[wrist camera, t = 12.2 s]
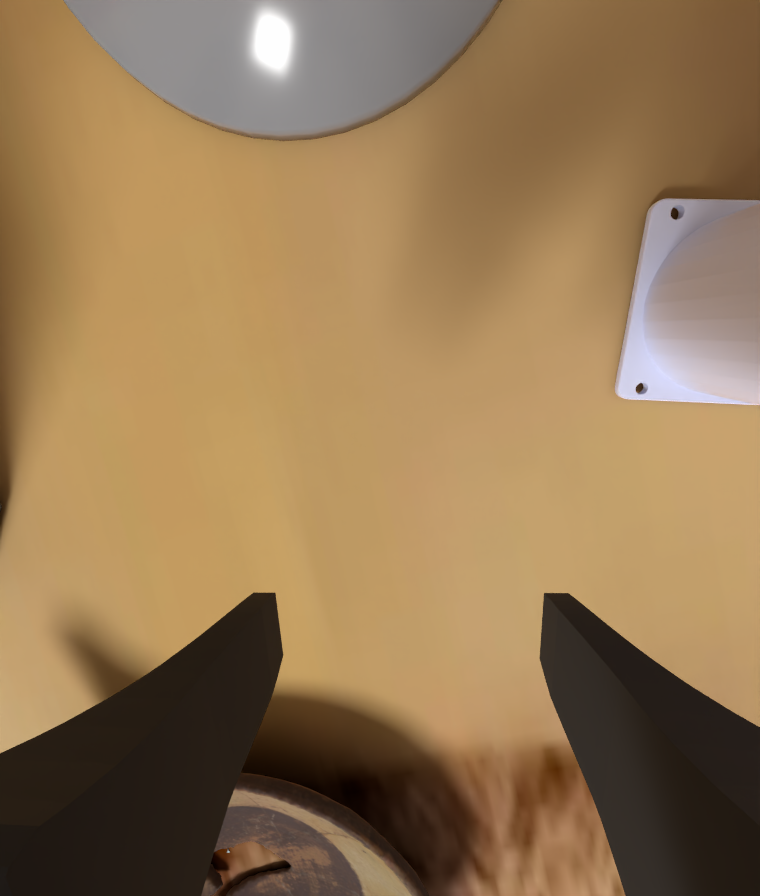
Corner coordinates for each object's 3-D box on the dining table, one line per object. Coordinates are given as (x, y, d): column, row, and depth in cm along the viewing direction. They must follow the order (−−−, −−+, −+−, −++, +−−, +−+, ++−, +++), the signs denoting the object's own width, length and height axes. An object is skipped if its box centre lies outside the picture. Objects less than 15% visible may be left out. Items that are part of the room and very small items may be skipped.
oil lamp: (235, 986, 34) (186, 1169, 26) (-6, 710, 28) (-157, 849, 20) (497, 926, 30) (526, 1122, 22) (285, 587, 24) (228, 705, 16)
